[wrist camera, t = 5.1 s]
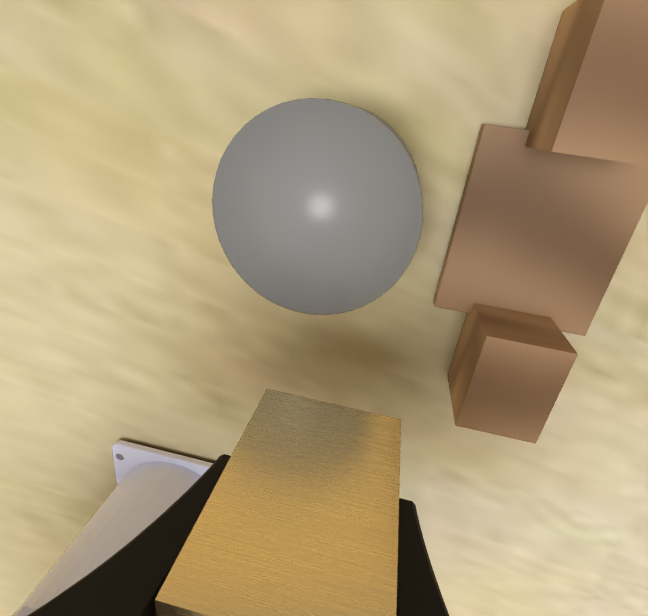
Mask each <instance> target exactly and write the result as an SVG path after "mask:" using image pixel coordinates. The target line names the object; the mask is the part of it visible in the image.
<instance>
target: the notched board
mask: <svg viewBox="0 0 648 616" xmlns="http://www.w3.org/2000/svg"><path fill="white" fill-rule="evenodd" d="M647 202H648V0H577V1H576V2H575V3H573V4H572V5H570V6H569V7H568V8H566V9H565V10H563V13H562V16H561V20H560V23H559V26H558V29H557V32H556V35H555V38H554V42H553V45H552V48H551V51H550V54H549V57H548V61H547V64H546V67H545V70H544V73H543V76H542V79H541V83H540V86H539V89H538V92H537V95H536V98H535V102H534V105H533V108H532V111H531V114H530V117H529V120H528V124H527V127H526V130H522V129H515V128H508V127H501V126H494V125H487V124H482V126H481V130H480V133H479V137H478V141H477V144H476V148H475V152H474V155H473V159H472V163H471V166H470V170H469V174H468V177H467V181H466V185H465V188H464V192H463V196H462V199H461V203H460V207H459V210H458V214H457V218H456V221H455V225H454V228H453V232H452V236H451V239H450V243H449V247H448V250H447V254H446V258H445V261H444V265H443V269H442V272H441V276H440V280H439V283H438V287H437V291H436V294H435V298H434V307H439V308H444V309H449V310H455V311H460V312H465V313H467V316H466V319H465V322H464V325H463V328H462V332H461V335H460V338H459V341H458V344H457V347H456V350H455V354H454V357H453V360H452V363H451V366H450V369H449V372H448V381H449V387H450V394H451V400H452V406H453V413H454V419H455V425H456V426H460V427H465V428H469V429H474V430H478V431H482V432H487V433H491V434H496V435H500V436H505V437H509V438H513V439H518V440H522V441H527V442H531V443H536V442H537V440H538V437H539V435H540V433H541V431H542V429H543V427H544V425H545V423H546V420H547V418H548V416H549V414H550V412H551V410H552V408H553V406H554V403H555V401H556V399H557V397H558V395H559V393H560V391H561V389H562V387H563V384H564V382H565V380H566V378H567V376H568V374H569V372H570V370H571V367H572V365H573V363H574V361H575V359H576V357H577V355H578V354H577V353H576V351H575V350H574V348H573V347H572V346H571V344H570V343H569V342H568V340H567V339H566V338H565V336H564V335H563V333H562V332H567V333H573V334H578V335H583V336H585V334H586V332H587V330H588V328H589V326H590V324H591V322H592V320H593V317H594V315H595V313H596V311H597V309H598V307H599V305H600V303H601V300H602V298H603V296H604V294H605V292H606V290H607V288H608V286H609V283H610V281H611V279H612V277H613V275H614V273H615V271H616V268H617V266H618V264H619V262H620V260H621V258H622V256H623V254H624V251H625V249H626V247H627V245H628V243H629V241H630V239H631V237H632V234H633V232H634V230H635V228H636V226H637V224H638V222H639V219H640V217H641V215H642V213H643V211H644V209H645V207H646V205H647ZM561 331H562V332H561Z"/></svg>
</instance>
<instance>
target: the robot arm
mask: <svg viewBox="0 0 648 616" xmlns="http://www.w3.org/2000/svg"><path fill="white" fill-rule="evenodd" d="M112 451H113V460H114V468H115V476H116V484H117V487H116V488H115V489H114V491H113V492H112V493H111V494H110V496H109V497H108V498H107V499H106V501H105V502H104V503H103V504H102V506H101V507H100V508H99V509H98V511H97V512H96V513H95V514H94V516H93V517H92V518H91V519H90V521H89V522H88V523H87V524H86V526H85V527H84V528H83V529H82V531H81V532H80V533H79V534H78V536H77V537H76V538H75V539H74V541H73V542H72V543H71V544H70V546H69V547H68V548H67V549H66V551H65V552H64V553H63V554H62V556H61V557H60V558H59V559H58V561H57V562H56V563H55V564H54V566H53V567H52V568H51V569H50V571H49V572H48V573H47V574H46V576H45V577H44V578H43V579H42V581H41V582H40V583H39V584H38V586H37V587H36V588H35V589H34V591H33V592H32V593H31V594H30V596H29V597H28V598H27V599H26V601H25V602H24V603H23V604H22V606H21V607H20V608H19V609H18V610H17V611H16V612H15V613H14V614H13V615H12V616H156V609H155V599H156V597H157V595H158V593H159V591H160V589H161V587H162V585H163V584H164V582H165V580H166V578H167V576H168V574H169V572H170V570H171V568H172V567H173V565H174V563H175V561H176V559H177V557H178V555H179V553H180V552H181V550H182V548H183V546H184V544H185V542H186V540H187V538H188V536H189V535H190V533H191V531H192V529H193V527H194V525H195V523H196V521H197V519H198V518H199V516H200V514H201V512H202V510H203V508H204V506H205V504H206V503H207V501H208V499H209V497H210V495H211V493H212V491H213V489H214V487H215V486H216V484H217V482H218V480H219V478H220V476H221V474H222V472H223V470H224V469H225V467H226V465H227V463H228V461H229V459H230V457H231V456H229V455H225V454H223V455H221V456H220V457H219V458H218V459H217V460H216V461H215V462H214V463H210V462H206V461H202V460H198V459H194V458H190V457H186V456H182V455H178V454H174V453H170V452H166V451H162V450H158V449H154V448H151V447H147V446H143V445H139V444H135V443H131V442H127V441H123V440H118V441H117V442H116V443H115V444H114V445H113V446H112ZM396 616H449V614H448V611H447V609H446V606H445V603H444V600H443V598H442V595H441V592H440V589H439V586H438V583H437V580H436V578H435V575H434V572H433V569H432V566H431V562H430V559H429V556H428V553H427V549H426V546H425V543H424V539H423V535H422V532H421V528H420V524H419V520H418V516H417V511H416V506H415V504H414V503H413V502H412V501H409V500H405V499H401V498H399V522H398V566H397V609H396Z"/></svg>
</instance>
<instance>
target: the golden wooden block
mask: <svg viewBox="0 0 648 616" xmlns="http://www.w3.org/2000/svg"><path fill="white" fill-rule="evenodd" d="M400 435H401V420H400V419H396V418H392V417H387V416H383V415H379V414H374V413H370V412H365V411H361V410H357V409H352V408H348V407H344V406H339V405H335V404H331V403H326V402H322V401H317V400H313V399H309V398H304V397H300V396H296V395H291V394H287V393H283V392H278V391H274V390H270V389H266V391H265V393H264V395H263V397H262V399H261V401H260V403H259V405H258V406H257V408H256V410H255V412H254V414H253V416H252V418H251V420H250V421H249V423H248V425H247V427H246V429H245V431H244V433H243V435H242V437H241V438H240V440H239V442H238V444H237V446H236V448H235V450H234V452H233V454H232V455H231V457H230V459H229V461H228V463H227V465H226V467H225V469H224V470H223V472H222V474H221V476H220V478H219V480H218V482H217V484H216V486H215V487H214V489H213V491H212V493H211V495H210V497H209V499H208V501H207V503H206V504H205V506H204V508H203V510H202V512H201V514H200V516H199V518H198V519H197V521H196V523H195V525H194V527H193V529H192V531H191V533H190V535H189V536H188V538H187V540H186V542H185V544H184V546H183V548H182V550H181V552H180V553H179V555H178V557H177V559H176V561H175V563H174V565H173V567H172V568H171V570H170V572H169V574H168V576H167V578H166V580H165V582H164V584H163V585H162V587H161V589H160V591H159V593H158V595H157V597H156V599H155V609H156V616H396V609H397V566H398V522H399V478H400Z"/></svg>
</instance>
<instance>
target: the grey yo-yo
mask: <svg viewBox="0 0 648 616" xmlns="http://www.w3.org/2000/svg"><path fill="white" fill-rule="evenodd" d="M212 204H213V217H214V223H215V228H216V231H217V235H218V238H219V241H220V243H221V246H222V248H223V251H224V253H225V254H226V256H227V258H228V260H229V262H230V263H231V265H232V266H233V268H234V269H235V270H236V272H237V273H238V274H239V275H240V277H241V278H242V279H243V280H244V281H245V282H246V283H247V284H248V285H249V286H250V287H251V288H253V289H254V290H255V291H256V292H257V293H259V294H260V295H262V296H263V297H265V298H266V299H268V300H269V301H271V302H273V303H275V304H277V305H279V306H282V307H284V308H287V309H289V310H293V311H297V312H300V313H306V314H313V315H330V314H339V313H344V312H348V311H352V310H355V309H357V308H360V307H363V306H365V305H367V304H368V303H370V302H372V301H374V300H376V299H377V298H378V297H380V296H381V295H383V294H384V293H385V292H386V291H388V290H389V289H390V288H391V287H392V286H393V285H394V284H395V283H396V282H397V280H398V279H399V278H400V277H401V276H402V275H403V273H404V271H405V270H406V268H407V267H408V265H409V264H410V262H411V259H412V257H413V255H414V253H415V251H416V248H417V245H418V241H419V238H420V233H421V227H422V217H423V205H422V195H421V189H420V185H419V179H418V174H417V170H416V166H415V164H414V161H413V158H412V156H411V154H410V152H409V150H408V148H407V146H406V145H405V143H404V142H403V140H402V139H401V138H400V136H399V135H398V134H397V133H396V132H395V131H394V130H393V129H392V128H391V127H390V126H389V125H388V124H387V123H386V122H384V121H383V120H382V119H380V118H379V117H377V116H375V115H374V114H372V113H370V112H368V111H366V110H363V109H361V108H358V107H355V106H351V105H348V104H345V103H342V102H337V101H333V100H328V99H316V98H309V99H297V100H293V101H289V102H284V103H281V104H279V105H276V106H274V107H271V108H269V109H267V110H265V111H264V112H262V113H260V114H259V115H257V116H255V117H254V118H253V119H252V120H250V121H249V122H248V123H247V124H245V125H244V126H243V128H242V129H241V130H240V131H239V132H238V133H237V134H236V135H235V136H234V138H233V139H232V141H231V142H230V144H229V145H228V147H227V148H226V150H225V152H224V154H223V156H222V158H221V160H220V163H219V166H218V169H217V172H216V176H215V181H214V186H213V198H212Z"/></svg>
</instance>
